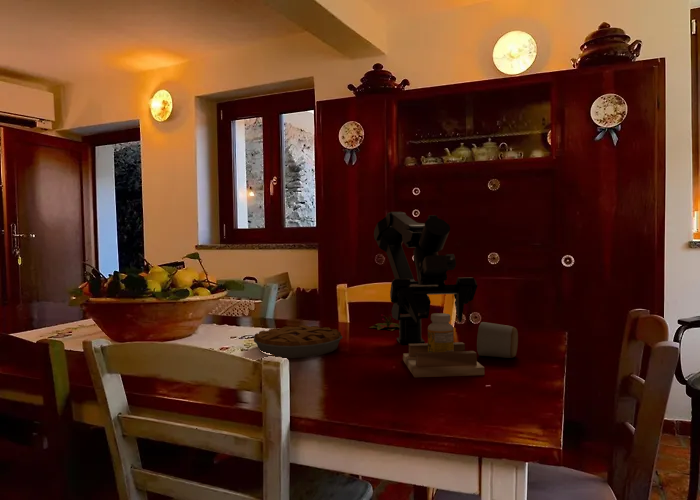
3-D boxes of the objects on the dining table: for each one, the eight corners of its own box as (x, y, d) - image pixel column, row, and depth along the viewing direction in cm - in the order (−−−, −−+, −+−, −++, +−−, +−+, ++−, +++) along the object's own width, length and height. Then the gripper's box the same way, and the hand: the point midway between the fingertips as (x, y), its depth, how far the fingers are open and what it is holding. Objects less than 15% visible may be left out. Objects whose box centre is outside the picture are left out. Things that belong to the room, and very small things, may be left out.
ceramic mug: (514, 362, 111) (514, 326, 111) (476, 358, 114) (476, 324, 114) (520, 352, 120) (520, 319, 120) (485, 349, 124) (485, 317, 124)
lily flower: (415, 327, 156) (415, 312, 156) (394, 334, 147) (393, 318, 146) (382, 324, 163) (382, 309, 163) (360, 330, 154) (360, 315, 154)
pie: (287, 365, 112) (286, 342, 112) (237, 349, 129) (237, 330, 129) (360, 349, 127) (359, 329, 127) (307, 337, 143) (306, 319, 143)
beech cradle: (403, 360, 114) (402, 342, 114) (464, 358, 115) (464, 340, 115) (414, 377, 100) (414, 357, 100) (484, 375, 101) (484, 354, 101)
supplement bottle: (453, 363, 104) (453, 316, 104) (427, 362, 106) (426, 316, 105) (453, 357, 110) (453, 312, 109) (428, 356, 111) (428, 312, 111)
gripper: (391, 242, 112) (399, 299, 102) (474, 241, 113) (491, 297, 103) (387, 275, 121) (394, 330, 110) (465, 273, 122) (479, 328, 111)
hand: (439, 321), depth 108 cm, fingers open, 9 cm apart
